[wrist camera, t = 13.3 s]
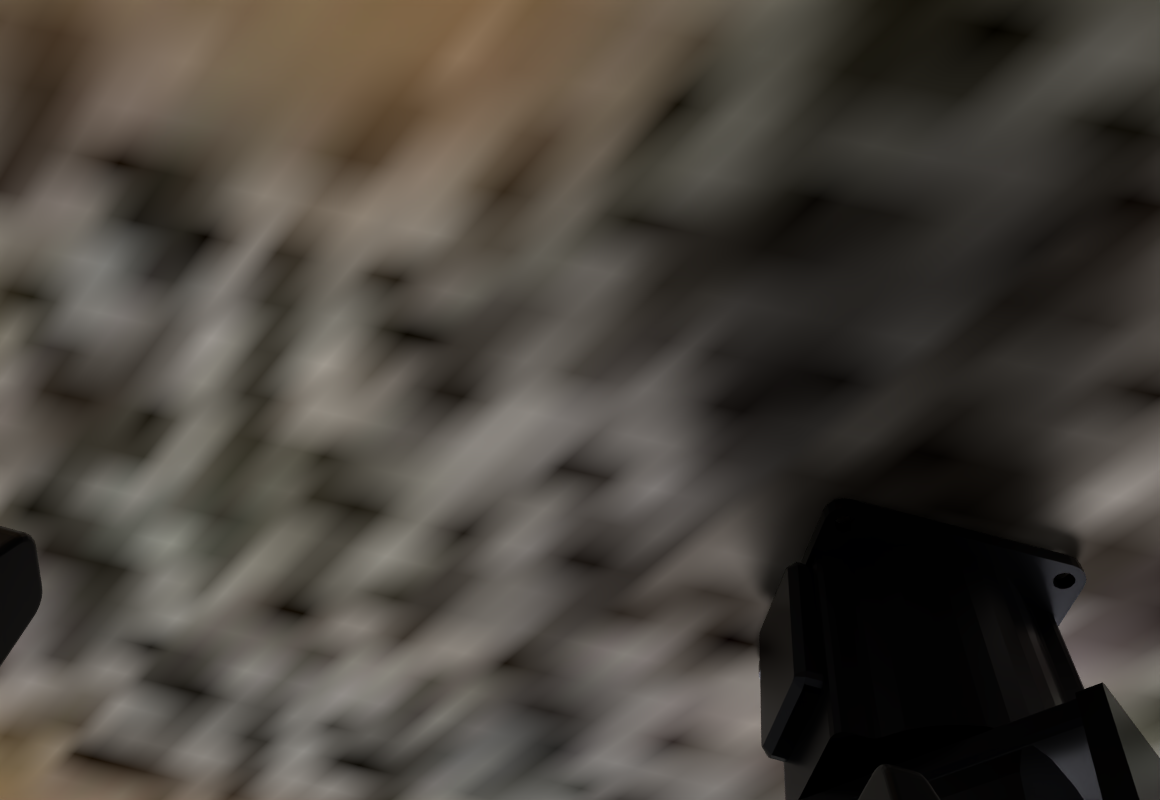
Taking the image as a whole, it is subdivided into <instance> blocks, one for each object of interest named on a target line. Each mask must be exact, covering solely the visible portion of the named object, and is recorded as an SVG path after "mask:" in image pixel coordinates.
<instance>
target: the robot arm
mask: <svg viewBox="0 0 1160 800" xmlns="http://www.w3.org/2000/svg"><path fill="white" fill-rule="evenodd" d="M841 516H849V517H851V518H852V519H851V521H849V522H846V523H839V522H837V521H835V520H836V519H837V518H839V517H841ZM1061 573H1069V574H1068V575H1067V576H1066V577H1063V578H1060V579H1059V578H1054V577H1056V576H1057V575H1058V574H1061ZM1085 583H1086V576H1085V573H1084V571H1083V569H1082V567H1081V565H1080V563H1079V562H1078V561H1077V560H1076V559H1075V558H1073V557H1071V556H1069V555H1065V554H1061V553H1057V552H1053V551H1049V550H1046V549H1042V548H1038V547H1034V546H1030V545H1026V544H1022V543H1018V542H1014V541H1011V540H1007V539H1003V538H999V537H995V536H991V535H987V534H983V533H979V532H976V531H972V530H968V529H964V528H960V527H956V526H952V525H948V524H945V523H941V522H937V521H933V520H929V519H925V518H921V517H917V516H913V515H910V514H906V513H902V512H898V511H894V510H890V509H886V508H882V507H878V506H875V505H871V504H867V503H863V502H859V501H855V500H851V499H843V498H842V499H837V500H834V501H832V502H830V503H829V504H828V505H827V506H826V507H825V509H824V510H823V513H822V515H821V517H820V520H819V522H818V524H817V527H816V529H815V532H814V534H813V536H812V539H811V541H810V543H809V546H808V548H807V550H806V553H805V555H804V557H803V560H802V562H801V563H798V562H796V563H794V564H792V565H791V566H789V567H787V568H786V571H785V573H784V575H783V578H782V580H781V583H780V585H779V587H778V590H777V592H776V595H775V597H774V599H773V602H772V604H771V607H770V609H769V611H768V614H767V616H766V619H765V621H764V623H763V626H762V628H761V631H760V661H759V678H760V685H761V741H762V748H763V749H764V751H765V753H766V754H767V756H768V757H769V758H772V759H776V760H779V761H783V762H784V779H785V800H1160V758H1159V757H1158V755H1157V754H1156V753H1155V751H1154V750H1153V749H1152V747H1151V746H1150V744H1149V743H1148V742H1147V740H1146V739H1145V738H1144V736H1143V735H1142V734H1141V732H1140V731H1139V730H1138V728H1137V727H1136V726H1135V724H1134V723H1133V722H1132V720H1131V719H1130V718H1129V716H1128V715H1127V714H1126V712H1125V711H1124V710H1123V708H1122V707H1121V705H1120V704H1119V703H1118V701H1117V700H1116V699H1115V697H1114V696H1113V695H1112V693H1111V692H1110V691H1109V689H1108V688H1107V687H1106V685H1105V684H1104V683H1100V684H1097V685H1094V686H1092V687H1089V688H1086V689H1084V687H1083V684H1082V682H1081V680H1080V677H1079V675H1078V673H1077V670H1076V668H1075V666H1074V663H1073V661H1072V659H1071V656H1070V654H1069V652H1068V649H1067V647H1066V644H1065V642H1064V640H1063V637H1062V635H1061V633H1060V630H1059V628H1058V626H1059V624H1060V623H1061V621H1062V620H1063V618H1064V617H1065V615H1066V614H1067V612H1068V610H1069V609H1070V607H1071V606H1072V604H1073V603H1074V601H1075V600H1076V598H1077V597H1078V595H1079V593H1080V592H1081V590H1082V589H1083V587H1084V585H1085ZM41 598H42V583H41V576H40V570H39V563H38V556H37V549H36V544H35V541H34V540H33V538H32V537H31V536H30V535H29V534H27V533H24V532H21V531H17V530H13V529H10V528H6V527H2V526H0V666H1V665H2V663H3V662H4V660H5V659H6V657H7V656H8V654H9V653H10V651H11V650H12V648H13V647H14V645H15V644H16V642H17V641H18V639H19V638H20V636H21V635H22V633H23V632H24V630H25V629H26V627H27V626H28V624H29V623H30V621H31V620H32V618H33V617H34V615H35V614H36V612H37V610H38V608H39V605H40V602H41Z"/></svg>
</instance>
